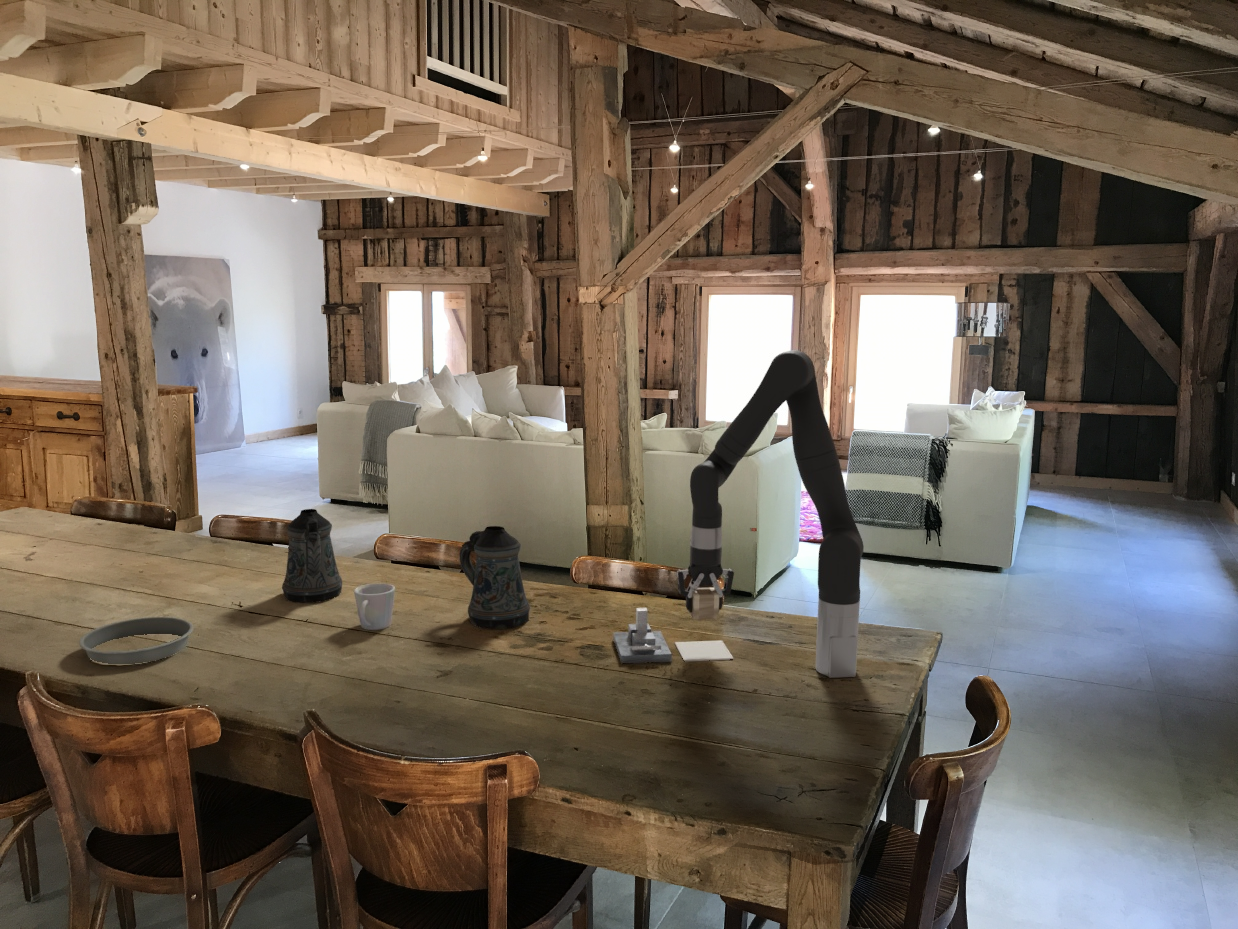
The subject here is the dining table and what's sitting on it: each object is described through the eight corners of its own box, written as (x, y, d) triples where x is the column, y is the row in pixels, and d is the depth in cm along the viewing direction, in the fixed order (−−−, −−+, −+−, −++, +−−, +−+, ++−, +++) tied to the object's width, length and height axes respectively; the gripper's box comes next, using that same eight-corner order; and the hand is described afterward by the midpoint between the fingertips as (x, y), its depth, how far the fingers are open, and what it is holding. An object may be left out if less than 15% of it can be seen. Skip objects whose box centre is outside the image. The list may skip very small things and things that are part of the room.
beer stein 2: (526, 630, 243) (525, 536, 239) (451, 629, 243) (449, 535, 239) (533, 610, 259) (532, 521, 255) (463, 609, 260) (461, 520, 255)
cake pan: (57, 658, 222) (55, 640, 221) (151, 627, 244) (149, 610, 243) (124, 677, 211) (123, 658, 210) (216, 643, 232) (215, 626, 232)
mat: (733, 659, 224) (733, 658, 224) (683, 661, 222) (683, 659, 222) (721, 642, 236) (722, 640, 235) (674, 643, 234) (674, 642, 234)
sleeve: (718, 619, 225) (719, 595, 224) (693, 619, 224) (694, 595, 223) (712, 611, 231) (713, 587, 230) (688, 611, 230) (689, 587, 229)
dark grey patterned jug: (321, 582, 283) (317, 501, 279) (360, 595, 271) (357, 511, 267) (271, 595, 270) (266, 510, 266) (309, 609, 258) (305, 520, 254)
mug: (401, 619, 250) (400, 583, 249) (382, 639, 236) (381, 600, 234) (363, 618, 251) (362, 582, 250) (342, 637, 237) (340, 599, 235)
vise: (671, 662, 222) (672, 619, 220) (621, 664, 221) (621, 621, 219) (660, 638, 238) (660, 598, 236) (613, 640, 236) (613, 600, 234)
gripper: (679, 548, 220) (677, 617, 223) (739, 547, 222) (736, 615, 225) (673, 540, 227) (671, 607, 230) (731, 539, 229) (729, 605, 232)
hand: (703, 611), depth 227 cm, fingers closed on sleeve, 6 cm apart
